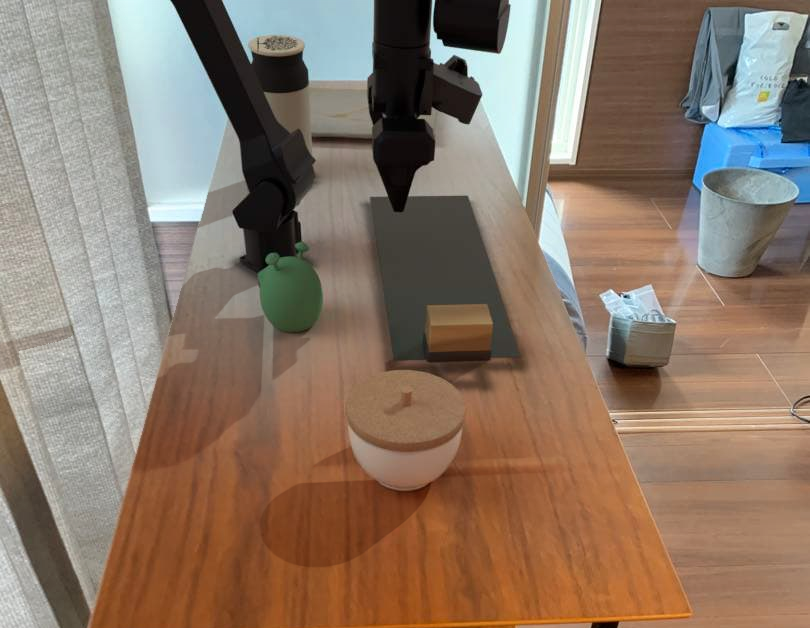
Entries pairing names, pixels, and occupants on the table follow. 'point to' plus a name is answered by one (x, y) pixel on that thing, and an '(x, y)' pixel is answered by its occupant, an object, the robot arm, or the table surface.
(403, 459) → the trinket box
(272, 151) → the robot arm
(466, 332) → the eraser
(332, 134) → the decorative slab
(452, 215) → the board
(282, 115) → the travel mug
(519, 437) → the table surface
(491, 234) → the table surface
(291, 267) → the alien toy
